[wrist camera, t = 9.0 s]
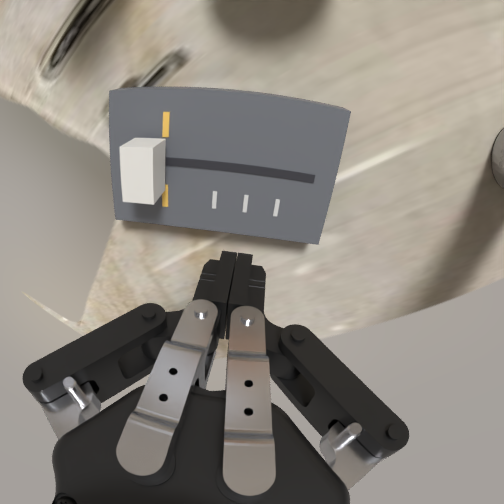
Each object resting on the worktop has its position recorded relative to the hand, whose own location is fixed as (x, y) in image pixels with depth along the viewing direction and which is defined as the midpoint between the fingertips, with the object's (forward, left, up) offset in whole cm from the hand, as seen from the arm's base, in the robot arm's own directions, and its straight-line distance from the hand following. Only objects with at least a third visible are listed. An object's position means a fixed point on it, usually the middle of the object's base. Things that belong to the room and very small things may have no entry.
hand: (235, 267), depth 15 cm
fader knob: (+9, 0, -14) cm, 17 cm away
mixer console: (+3, 0, -17) cm, 17 cm away
